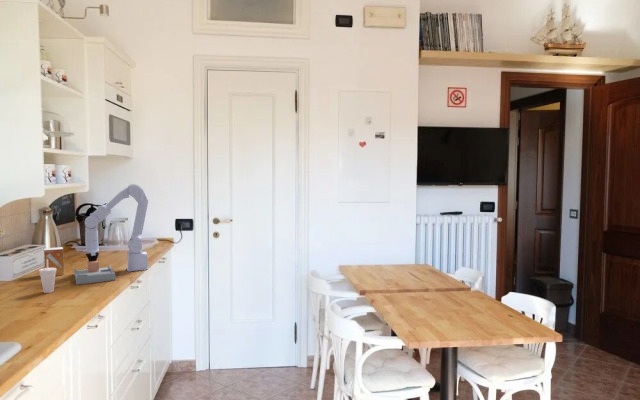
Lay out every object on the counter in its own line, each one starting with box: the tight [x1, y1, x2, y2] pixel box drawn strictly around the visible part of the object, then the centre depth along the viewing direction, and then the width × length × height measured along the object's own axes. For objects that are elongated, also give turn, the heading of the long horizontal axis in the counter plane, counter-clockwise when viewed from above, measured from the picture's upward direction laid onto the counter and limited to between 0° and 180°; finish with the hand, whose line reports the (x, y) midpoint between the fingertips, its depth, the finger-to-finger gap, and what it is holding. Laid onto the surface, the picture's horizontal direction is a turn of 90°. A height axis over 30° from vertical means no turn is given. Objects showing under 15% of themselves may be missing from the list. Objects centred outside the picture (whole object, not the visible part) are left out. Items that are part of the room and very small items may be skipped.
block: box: [87, 260, 100, 272], centre depth 216 cm, size 4×4×4 cm
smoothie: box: [38, 259, 57, 294], centre depth 186 cm, size 6×6×14 cm
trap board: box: [73, 265, 116, 285], centre depth 211 cm, size 16×22×3 cm
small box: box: [43, 246, 65, 277], centre depth 216 cm, size 8×6×13 cm
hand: (92, 267), depth 219 cm, fingers closed
